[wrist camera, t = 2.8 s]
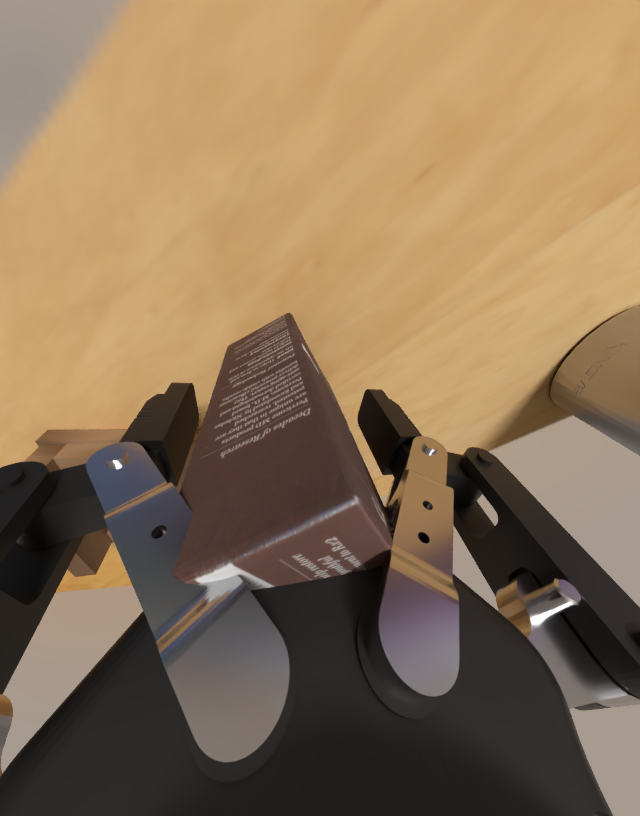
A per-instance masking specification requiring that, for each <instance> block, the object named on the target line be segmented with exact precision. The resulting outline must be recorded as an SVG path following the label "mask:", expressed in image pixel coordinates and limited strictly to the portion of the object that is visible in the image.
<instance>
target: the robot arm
mask: <svg viewBox="0 0 640 816" xmlns="http://www.w3.org/2000/svg"><path fill="white" fill-rule="evenodd" d="M550 397H551V399H552V401H553V402H554V403H555V404H556V405H557V406H559V407H560V408H562V409H564V410H565V411H567V412H569V413H570V414H572V415H574V416H575V417H577V418H579V419H580V420H582V421H584V422H586V423H587V424H589V425H590V426H592V427H594V428H595V429H597V430H599V431H600V432H602V433H603V434H605V435H606V436H608V437H610V438H611V439H613V440H615V441H616V442H618V443H620V444H621V445H623V446H625V447H626V448H628V449H630V450H631V451H633V452H634V453H636V454H638V455H639V456H640V305H639V306H636V307H633V308H630V309H628V310H626V311H624V312H622V313H620V314H618V315H617V316H615V317H613V318H612V319H610V320H609V321H607V322H606V323H604V324H602V325H601V326H600V327H599V328H597V329H596V330H595V331H593V332H592V333H591V334H590V335H588V336H587V337H586V338H585V339H584V340H583V341H582V342H581V343H580V344H579V345H578V346H577V347H576V348H575V349H574V350H573V351H572V352H571V353H570V355H569V356H568V357H567V358H566V359H565V361H564V362H563V364H562V365H561V366H560V368H559V369H558V371H557V373H556V375H555V377H554V379H553V382H552V385H551V388H550ZM198 422H199V413H198V407H197V401H196V396H195V390H194V386H193V384H192V383H171V384H170V386H169V388H168V389H167V391H166V393H165V394H157V395H155V396H154V397H152V398H151V399H149V400H148V401H147V402H146V403H145V405H144V406H143V408H142V409H141V411H140V412H139V413H138V415H137V418H135V419H134V421H133V422H132V424H131V425H130V427H129V428H128V430H127V431H126V432H125V434H124V435H123V437H122V438H121V440H120V441H119V443H115V444H112V445H109V446H106V447H104V448H102V449H100V450H99V451H97V452H96V453H94V454H93V455H92V456H91V457H90V458H89V460H88V461H87V463H86V464H82V465H78V466H74V467H69V468H65V469H60V470H56V471H52V472H50V471H49V469H48V468H47V467H46V466H45V465H44V464H43V463H40V462H35V461H27V462H19V463H15V464H11V465H7V466H4V467H2V468H0V816H613V815H612V813H611V810H610V808H609V806H608V804H607V802H606V800H605V798H604V796H603V794H602V792H601V790H600V787H599V785H598V783H597V781H596V779H595V776H594V774H593V772H592V769H591V767H590V765H589V762H588V760H587V758H586V755H585V752H584V750H583V747H582V745H581V742H580V740H579V737H578V734H577V731H576V728H575V725H574V722H573V719H572V716H571V713H570V710H569V709H570V708H575V709H578V710H593V709H602V708H611V707H621V706H630V705H639V704H640V608H639V607H638V605H637V604H636V603H635V602H634V601H633V600H632V599H631V598H630V597H629V596H628V595H627V594H626V593H625V592H624V591H623V590H622V589H621V588H620V587H619V586H618V585H617V584H616V582H615V581H614V580H613V579H612V578H611V577H610V576H609V575H608V574H607V573H606V572H605V571H604V570H603V569H602V568H601V567H600V566H599V565H598V563H597V562H596V561H595V560H594V559H593V558H592V557H591V556H590V555H589V554H588V553H587V552H586V551H585V550H584V549H583V548H582V547H581V546H580V545H579V544H578V543H577V541H576V540H575V539H574V538H573V537H572V536H571V535H570V534H569V533H568V532H567V531H566V530H565V529H564V528H563V527H562V526H561V525H560V524H559V523H558V522H557V520H556V519H554V517H553V516H552V515H551V514H550V513H549V512H548V511H547V510H546V509H545V508H544V507H543V506H542V505H541V504H540V503H539V502H538V501H537V500H536V498H535V497H534V496H533V495H532V494H531V493H530V492H529V491H528V490H527V489H526V488H525V487H524V486H523V485H522V484H521V483H520V482H519V481H518V480H517V478H516V477H515V476H514V475H513V474H512V473H511V472H510V471H509V470H508V469H507V468H506V467H505V466H504V465H503V464H502V463H501V462H500V461H499V460H498V459H497V458H496V457H495V456H494V455H492V454H490V453H489V452H487V451H485V450H483V449H480V448H475V447H471V448H468V449H467V450H466V452H465V453H464V454H463V455H459V454H454V453H449V452H447V451H446V449H445V448H444V446H443V445H442V444H440V443H439V442H438V441H436V440H434V439H432V438H429V437H425V436H422V435H421V434H420V432H419V431H418V430H417V428H416V427H415V426H414V424H413V423H412V422H411V421H410V419H408V417H407V415H406V414H405V413H404V411H403V410H402V409H401V408H400V406H399V405H398V404H396V403H395V402H394V401H392V400H391V399H389V398H388V397H387V396H386V394H385V393H384V392H383V390H374V389H367V390H366V391H365V393H364V396H363V400H362V403H361V406H360V410H359V413H358V424H359V427H360V429H361V431H362V433H363V435H364V437H365V439H366V441H367V443H368V445H369V448H370V450H371V452H372V454H373V456H374V458H375V460H376V462H377V464H378V466H379V468H380V470H381V472H382V474H383V475H391V474H393V476H394V479H393V481H392V484H391V487H390V491H389V494H388V498H387V501H386V504H385V510H386V513H387V516H388V518H389V520H390V522H389V521H388V523H389V525H390V528H391V536H392V542H393V545H392V548H391V550H390V552H389V554H388V555H387V557H386V558H385V560H384V562H383V564H382V566H378V567H374V568H370V569H366V570H361V571H357V572H352V573H348V574H343V575H338V576H333V577H327V578H322V579H317V580H311V581H306V582H300V583H294V584H288V585H282V586H276V587H270V588H264V589H257V590H251V591H250V590H249V588H248V587H247V585H246V584H245V583H244V582H243V580H242V579H241V578H240V577H239V576H238V575H235V576H232V577H229V578H226V579H222V580H217V581H211V582H204V583H198V584H187V583H185V582H183V581H181V580H180V579H175V578H174V577H173V575H172V573H173V569H174V567H175V565H176V562H177V560H178V557H179V554H180V551H181V548H182V545H183V542H184V539H185V536H186V533H187V530H188V527H189V523H190V520H191V518H192V515H193V513H192V511H191V510H190V508H189V507H188V505H187V504H186V502H185V501H184V500H183V498H182V497H181V495H180V494H179V492H178V491H177V489H176V488H175V487H177V486H178V483H179V480H180V477H181V474H182V471H183V468H184V465H185V462H186V459H187V456H188V453H189V450H190V447H191V444H192V442H193V439H194V436H195V433H196V430H197V427H198ZM482 494H483V495H484V496H485V497H486V499H487V500H488V501H489V503H490V504H491V505H492V506H493V508H494V509H495V511H496V512H497V515H498V523H497V525H496V526H494V524H493V523H492V522H491V520H490V519H489V518H488V516H487V515H486V513H485V512H484V511H483V509H482V508H481V506H480V505H479V504H478V502H477V499H478V498H479V497H480V496H481V495H482ZM453 524H454V526H455V528H456V530H457V531H458V533H459V535H460V536H461V538H462V540H463V541H464V543H465V545H466V546H467V548H468V550H469V552H470V553H471V555H472V557H473V558H474V560H475V562H476V564H477V565H478V567H479V569H480V570H481V572H482V574H483V576H484V577H485V579H486V581H487V582H488V584H489V586H490V588H491V589H492V591H493V593H494V594H495V596H496V602H497V606H498V609H499V611H497V610H496V609H495V608H493V607H492V606H491V605H490V604H489V603H487V602H486V601H485V600H484V599H483V598H481V597H480V596H479V595H478V594H477V593H475V592H474V591H473V590H472V589H470V588H469V587H468V586H467V585H466V584H465V583H463V582H462V581H461V580H459V578H457V577H456V576H455V575H454V574H453ZM107 527H108V529H109V531H110V533H111V536H112V538H113V540H114V543H115V545H116V548H117V550H118V552H119V555H120V557H121V559H122V562H123V564H124V566H125V569H126V571H127V573H128V576H129V578H130V581H131V583H132V585H133V588H134V590H135V592H136V594H137V597H138V599H139V602H140V604H141V606H142V609H143V612H142V613H141V614H140V615H139V617H138V618H137V619H136V620H135V621H134V622H133V623H132V624H131V626H130V627H129V628H128V629H127V630H126V631H125V633H124V634H123V635H122V636H121V637H120V638H119V639H118V640H117V642H116V643H115V644H114V645H113V646H112V647H111V649H109V651H108V652H107V653H106V654H105V655H104V656H103V658H102V659H101V660H100V661H99V662H98V663H97V664H96V665H95V667H94V668H93V669H92V670H91V671H90V672H89V673H88V675H87V676H86V677H85V678H84V679H83V680H82V681H81V683H80V684H79V685H78V686H77V687H76V688H75V689H74V690H73V692H72V693H71V694H70V695H69V696H68V697H67V698H66V700H65V701H64V702H63V703H62V704H61V705H60V706H59V707H58V709H57V710H56V711H55V712H54V713H53V714H52V715H51V717H50V718H49V719H48V720H47V721H46V722H45V723H44V725H43V726H42V727H41V728H40V729H39V730H38V731H37V732H36V734H35V735H34V736H33V737H32V738H31V739H30V740H29V742H28V743H27V744H26V745H25V746H24V747H23V748H22V750H21V751H20V752H19V753H18V754H17V756H16V757H15V758H14V759H13V761H12V762H11V763H10V765H9V766H8V767H7V769H6V770H5V771H4V773H3V774H2V771H1V755H2V750H3V747H4V744H5V741H6V737H7V734H8V732H9V729H10V726H11V722H12V717H13V708H12V703H11V701H10V700H9V699H8V698H7V697H6V696H4V695H2V694H3V692H4V690H5V688H6V686H7V684H8V683H9V681H10V679H11V677H12V675H13V673H14V671H15V669H16V667H17V665H18V663H19V661H20V659H21V658H22V656H23V653H24V652H25V650H26V648H27V646H28V644H29V642H30V640H31V638H32V636H33V634H34V632H35V630H36V628H37V626H38V625H39V623H40V621H41V619H42V617H43V615H44V613H45V611H46V609H47V607H48V605H49V603H50V601H51V600H52V598H53V596H54V594H55V592H56V590H57V588H58V586H59V584H60V582H61V580H62V578H63V576H64V575H65V573H66V571H67V569H68V567H69V565H70V563H71V561H72V559H73V557H74V555H75V553H76V551H77V549H78V547H79V546H80V544H81V542H82V540H83V538H84V536H85V535H86V534H89V533H92V532H95V531H98V530H101V529H104V528H107Z"/></svg>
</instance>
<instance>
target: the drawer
mask: <svg viewBox="0 0 640 816" xmlns="http://www.w3.org/2000/svg"><path fill="white" fill-rule="evenodd" d="M200 430H201V429H197V430H196V433H195V436H194V439H193V442H192V444H191V447H190V450H189V453H188V456H187V459H186V462H185V465H184V468H183V471H182V474H181V477H180V480H179V483H178V486H177V487H175V488H176V489H177V491H178V492H180V489H181V486H182V483H183V481H184V478H185V474H186V471H187V468H188V466H189V463H190V460H191V457H192V454H193V450H194V447H195V444H196V441H197V439H198V436H199V433H200ZM126 431H127V430H47V431H46V432H45V433H44V434H43V435H42V436H41V437H40V438H39V439H37V440H36V441H35V442H36V443H37V444H38V446H39V448H38V449H36V450H35V451H34V452H33V453H32V454H31V455H30V456H29V457H28V458H27V459H26V460H25V461H24V462H27V461H35V462H40V463H43V464H44V465H45V466H46V467H47V468H48V469H49V471H50V472H52V471H56V470H60V469H65V468H69V467H74V466H78V465H82V464H86V463H87V461H88V460H89V458H90V457H91V456H92V455H93V454H94V453H96V452H97V451H99V450H100V449H102V448H104V447H106V446H109V445H112V444H115V443H119V441H120V440H121V438H122V437H123V435H124V434H125V432H126ZM112 541H114V540H113V538H112V536H111V533H110V531H109V529H108V527H107V528H104V529H101V530H98V531H95V532H92V533H89V534H86V535H85V536H84V538H83V540H82V542H81V544H80V546H79V547H78V549H77V551H76V553H75V555H74V557H73V559H72V561H71V563H70V565H69V567H68V569H67V570H69V571H70V572H71V573H72V574H73V575H74V576H75V577H78V576H86V575H94V574H96V573H97V571H98V569H99V567H100V565H101V563H102V561H103V559H104V557H105V555H106V553H107V551H108V549H109V547H110V545H111V543H112Z"/></svg>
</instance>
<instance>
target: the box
mask: <svg viewBox="0 0 640 816" xmlns="http://www.w3.org/2000/svg"><path fill="white" fill-rule="evenodd" d="M179 494H180V495H181V497H182V498H183V500H184V501H185V502H186V504H187V505H188V507H189V508H190V510H191V511H192V513H193V515H192V518H191V520H190V523H189V527H188V530H187V533H186V536H185V539H184V542H183V545H182V548H181V551H180V554H179V557H178V560H177V562H176V565H175V567H174V569H173V573H172V575H173V577H174V578H175V579H180V580H181V581H183V582H185V583H187V584H198V583H204V582H211V581H217V580H222V579H226V578H229V577H232V576H235V575H238V576H239V577H240V578H241V579H242V580H243V582H244V583H245V584H246V585H247V587H248V588H249V590H250V591H251V590H257V589H264V588H270V587H276V586H282V585H288V584H294V583H300V582H306V581H311V580H317V579H322V578H327V577H333V576H338V575H343V574H348V573H352V572H357V571H361V570H366V569H370V568H374V567H378V566H382V564H383V562H384V560H385V558H386V557H387V555H388V554H389V552H390V550H391V548H392V545H393V542H392V536H391V528H390V525H389V523H388V521H389V522H390V520H389V518H388V516H387V513H386V510H385V507H384V505H383V503H382V501H381V498H380V496H379V494H378V492H377V490H376V487H375V485H374V483H373V480H372V478H371V476H370V474H369V472H368V469H367V467H366V465H365V463H364V461H363V458H362V456H361V454H360V452H359V450H358V447H357V445H356V443H355V440H354V438H353V435H352V433H351V431H350V429H349V427H348V424H347V422H346V419H345V417H344V415H343V413H342V411H341V409H340V406H339V404H338V402H337V400H336V397H335V395H334V393H333V391H332V389H331V387H330V385H329V383H328V382H327V380H326V378H325V376H324V375H323V373H322V371H321V369H320V368H319V366H318V364H317V362H316V360H315V358H314V357H313V355H312V353H311V351H310V350H309V348H308V346H307V344H306V342H305V340H304V338H303V336H302V334H301V332H300V330H299V328H298V326H297V324H296V322H295V320H294V318H293V316H292V314H290V313H287V314H285V315H284V316H282V317H280V318H278V319H276V320H274V321H273V322H271V323H269V324H267V325H265V326H264V327H262V328H260V329H258V330H257V331H255V332H253V333H251V334H249V335H247V336H246V337H244V338H242V339H240V340H239V341H237V342H235V343H233V344H231V345H229V346H228V348H227V351H226V354H225V357H224V360H223V364H222V367H221V370H220V373H219V376H218V379H217V381H216V385H215V388H214V390H213V393H212V397H211V400H210V404H209V407H208V410H207V412H206V415H205V418H204V421H203V424H202V427H201V430H200V433H199V436H198V439H197V441H196V444H195V447H194V450H193V454H192V457H191V460H190V463H189V466H188V468H187V471H186V474H185V478H184V481H183V483H182V486H181V489H180V492H179Z"/></svg>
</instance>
